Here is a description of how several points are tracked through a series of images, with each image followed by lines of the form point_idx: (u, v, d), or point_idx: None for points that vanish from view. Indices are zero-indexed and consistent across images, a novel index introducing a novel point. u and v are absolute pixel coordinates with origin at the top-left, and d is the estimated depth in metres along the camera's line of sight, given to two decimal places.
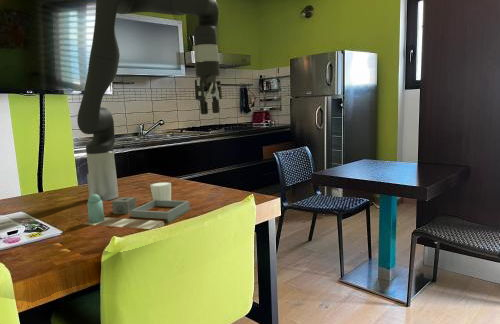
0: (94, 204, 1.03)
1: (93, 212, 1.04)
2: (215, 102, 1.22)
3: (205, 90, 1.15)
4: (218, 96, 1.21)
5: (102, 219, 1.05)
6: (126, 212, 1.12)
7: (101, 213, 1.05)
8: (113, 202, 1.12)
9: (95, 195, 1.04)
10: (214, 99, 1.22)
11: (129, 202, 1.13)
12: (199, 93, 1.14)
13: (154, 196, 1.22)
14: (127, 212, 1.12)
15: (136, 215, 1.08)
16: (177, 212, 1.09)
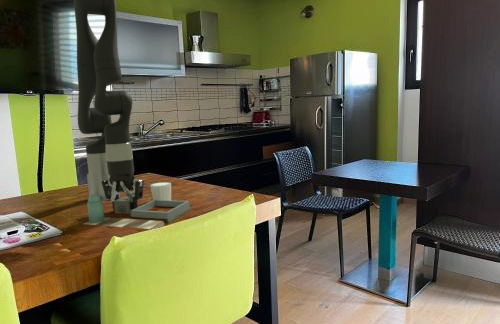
0: (94, 204, 1.03)
1: (93, 212, 1.04)
2: None
3: (129, 188, 1.13)
4: None
5: (102, 219, 1.05)
6: (127, 211, 1.12)
7: (101, 213, 1.05)
8: (115, 202, 1.12)
9: (95, 195, 1.04)
10: (115, 198, 1.15)
11: None
12: (129, 193, 1.11)
13: (154, 196, 1.22)
14: (129, 212, 1.12)
15: (136, 215, 1.08)
16: (177, 212, 1.09)
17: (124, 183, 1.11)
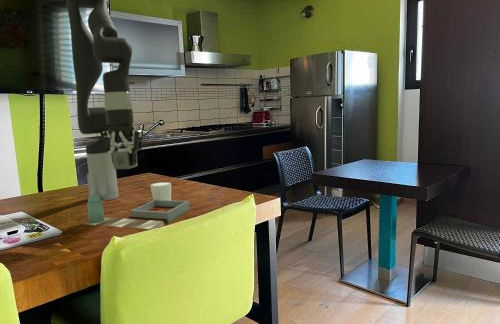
0: (94, 204, 1.03)
1: (93, 212, 1.04)
2: None
3: None
4: None
5: (102, 219, 1.05)
6: (126, 163, 1.09)
7: (101, 213, 1.05)
8: (113, 153, 1.10)
9: (95, 195, 1.04)
10: (115, 150, 1.12)
11: None
12: (128, 144, 1.09)
13: (154, 196, 1.22)
14: (127, 163, 1.09)
15: (136, 215, 1.08)
16: (177, 212, 1.09)
17: (123, 133, 1.08)
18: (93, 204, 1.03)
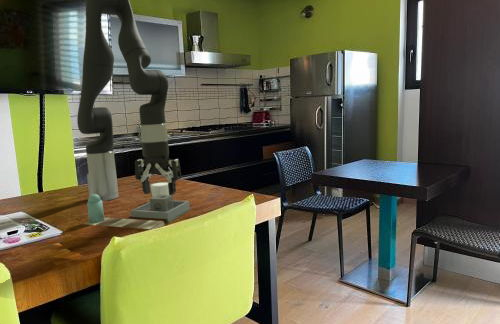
0: (94, 204, 1.03)
1: (93, 212, 1.04)
2: (147, 182, 1.12)
3: (165, 170, 1.09)
4: (147, 175, 1.13)
5: (102, 219, 1.05)
6: (163, 209, 1.09)
7: (101, 213, 1.05)
8: (151, 199, 1.10)
9: (95, 195, 1.04)
10: (145, 179, 1.12)
11: (167, 200, 1.10)
12: (167, 174, 1.08)
13: None
14: (165, 210, 1.09)
15: (136, 215, 1.08)
16: (177, 212, 1.09)
17: (159, 164, 1.08)
18: (93, 204, 1.03)
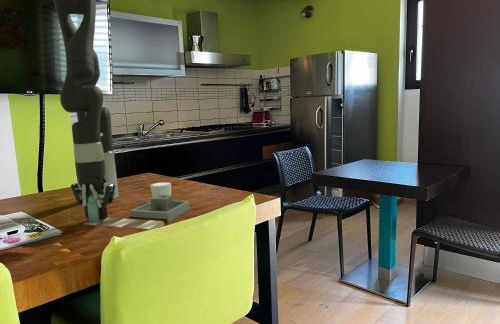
0: (94, 204, 1.03)
1: (93, 212, 1.04)
2: None
3: None
4: None
5: None
6: (164, 209, 1.09)
7: None
8: (152, 199, 1.10)
9: None
10: None
11: (168, 200, 1.10)
12: (98, 198, 1.03)
13: (154, 196, 1.22)
14: (166, 210, 1.09)
15: (136, 215, 1.08)
16: (177, 212, 1.09)
17: (94, 186, 1.02)
18: (93, 204, 1.03)
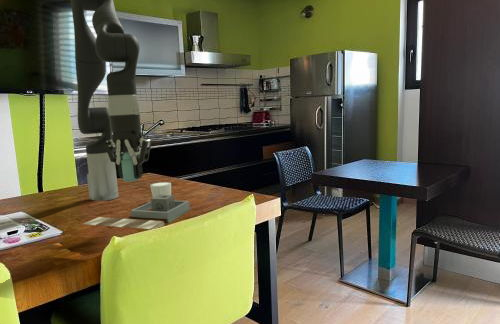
0: (129, 161, 0.97)
1: (128, 170, 0.97)
2: None
3: None
4: None
5: None
6: (165, 209, 1.09)
7: None
8: (152, 199, 1.10)
9: None
10: None
11: (168, 200, 1.10)
12: (134, 154, 0.96)
13: (154, 196, 1.22)
14: (166, 210, 1.09)
15: (136, 215, 1.08)
16: (177, 212, 1.09)
17: (130, 141, 0.96)
18: (128, 161, 0.97)
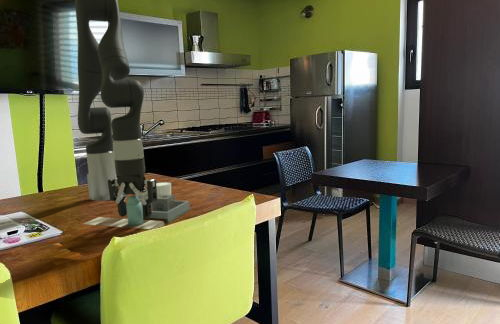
0: (134, 206, 0.99)
1: (133, 214, 0.99)
2: (123, 203, 1.02)
3: (141, 190, 0.99)
4: (123, 196, 1.03)
5: (141, 222, 1.01)
6: (166, 209, 1.09)
7: (141, 215, 1.01)
8: None
9: (134, 197, 1.00)
10: (121, 200, 1.02)
11: (169, 199, 1.10)
12: (141, 195, 0.98)
13: None
14: (167, 210, 1.09)
15: None
16: (177, 212, 1.09)
17: (134, 184, 0.98)
18: (133, 206, 0.99)
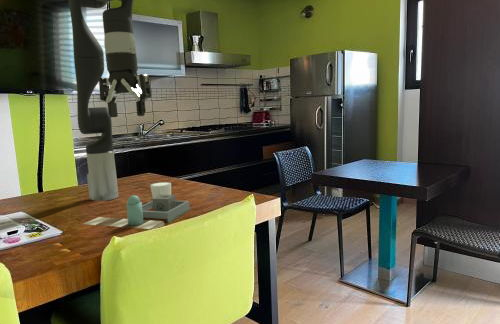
0: (134, 206, 0.99)
1: (133, 214, 0.99)
2: (113, 104, 0.99)
3: (133, 88, 0.96)
4: None
5: (141, 222, 1.01)
6: (166, 209, 1.09)
7: (141, 215, 1.01)
8: (153, 199, 1.10)
9: (135, 196, 1.00)
10: (112, 100, 0.99)
11: (170, 199, 1.10)
12: (134, 90, 0.95)
13: (154, 196, 1.22)
14: (168, 210, 1.09)
15: None
16: (177, 212, 1.09)
17: (126, 80, 0.95)
18: (133, 206, 0.99)
